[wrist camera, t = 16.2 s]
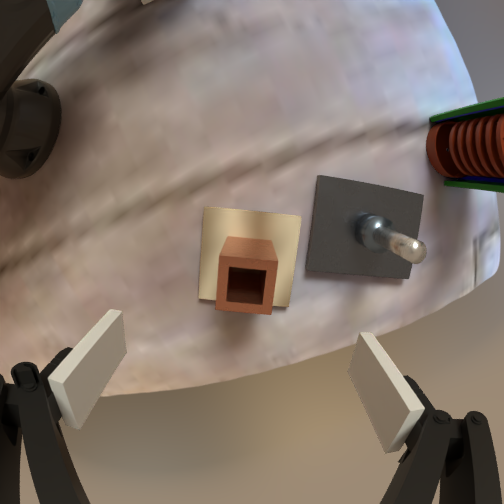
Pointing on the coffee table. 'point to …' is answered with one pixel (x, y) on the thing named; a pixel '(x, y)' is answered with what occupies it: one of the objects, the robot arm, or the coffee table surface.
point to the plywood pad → (248, 226)
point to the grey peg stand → (364, 229)
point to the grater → (146, 1)
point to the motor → (470, 146)
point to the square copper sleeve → (246, 276)
